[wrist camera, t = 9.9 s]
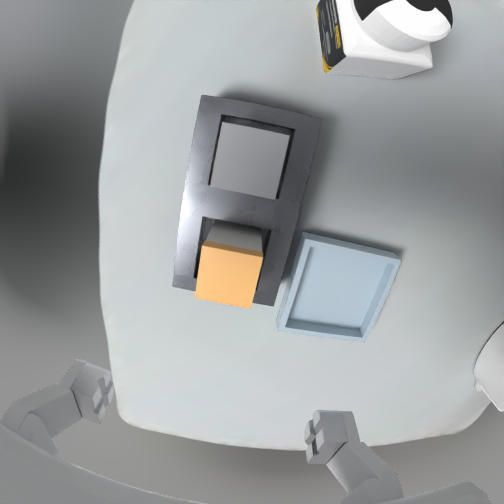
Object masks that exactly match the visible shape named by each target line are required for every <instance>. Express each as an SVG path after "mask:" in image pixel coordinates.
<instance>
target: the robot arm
mask: <svg viewBox="0 0 504 504" xmlns="http://www.w3.org/2000/svg"><path fill="white" fill-rule="evenodd" d="M474 375H475V377H476V384H475V389H476V390H477V391H478V392H480V391H484V392H485V393H486V394H487V396H488V397H489V398H490V399H491V401H492V402H493V403H494V404H495V406H496V407H497V408H498V410H500V411H504V323H503V324H502V325H501V326H500V327H499V328H498V329H497V331H496V332H495V333H494V334H493V335H492V336H491V338H490V339H489V340H488V342H487V343H486V345H485V346H484V348H483V349H482V351H481V353H480V355H479V357H478V359H477V361H476V364H475V368H474ZM111 377H112V375H111V371H109V370H106V369H104V368H101V367H98V366H96V365H93V364H91V363H88V362H85V361H83V360H80V359H76V360H75V361H74V362H73V363H72V365H71V366H70V368H69V369H68V371H67V372H66V374H65V375H64V377H63V378H62V380H61V381H60V383H59V384H53V385H51V386H49V387H46V388H44V389H42V390H39V391H37V392H35V393H32V394H30V395H27V396H25V397H23V398H20V399H18V400H16V401H13V403H12V404H11V405H10V407H9V408H8V410H7V411H6V413H5V414H4V416H3V417H2V419H1V420H0V504H206V503H200V502H194V501H189V500H184V499H179V498H175V497H170V496H165V495H162V494H158V493H154V492H150V491H147V490H143V489H140V488H137V487H133V486H130V485H127V484H124V483H121V482H118V481H115V480H112V479H109V478H106V477H104V476H101V475H99V474H96V473H93V472H91V471H89V470H86V469H84V468H82V467H79V466H77V465H75V464H73V463H70V462H68V461H66V460H64V459H62V458H60V457H58V456H56V454H57V452H58V448H57V446H56V445H55V443H54V441H53V440H52V438H53V437H54V436H56V435H58V434H59V433H61V432H62V431H64V430H65V429H67V428H68V427H70V426H71V425H73V424H75V423H76V422H78V421H79V420H81V419H82V418H85V419H88V420H90V421H93V422H95V423H98V424H101V421H102V419H103V417H104V415H105V413H106V411H105V406H107V405H109V404H110V402H111V400H112V397H113V391H114V386H113V383H112V382H111V381H110V379H111ZM305 442H306V443H307V444H308V445H309V447H308V448H307V449H306V455H307V463H315V464H327V466H328V468H329V469H330V470H331V472H332V473H333V474H334V475H335V477H336V478H337V479H338V481H339V482H340V483H341V485H342V486H343V487H344V489H345V490H346V491H347V492H348V495H347V496H345V497H344V498H343V499H342V500H340V501H339V502H338V504H491V501H490V499H489V497H488V495H487V494H486V493H485V492H484V491H483V490H481V489H480V488H479V487H477V486H476V485H475V484H473V483H472V482H470V481H467V480H465V481H460V482H458V483H455V484H452V485H449V486H446V487H443V488H439V489H436V490H433V491H429V492H426V493H422V494H418V495H415V496H410V497H406V498H404V496H403V492H402V488H401V485H400V481H399V477H398V474H397V473H396V472H395V471H393V469H391V468H390V467H389V466H388V465H387V464H386V463H385V462H384V461H383V460H381V458H380V457H379V456H377V455H376V454H375V453H374V452H373V451H372V450H371V449H370V448H369V447H368V446H367V445H366V444H365V443H364V442H360V438H359V434H358V431H357V427H356V423H355V419H354V416H353V413H352V412H351V411H326V410H316V411H315V412H314V414H313V419H312V420H310V421H309V422H308V424H307V426H306V429H305Z"/></svg>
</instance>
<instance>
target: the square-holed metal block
mask: <svg viewBox="0 0 504 504" xmlns="http://www.w3.org/2000/svg"><path fill="white" fill-rule="evenodd" d="M321 121H322V119H319V118H316V117H312V116H308V115H304V114H300V113H296V112H292V111H288V110H284V109H279V108H275V107H270V106H265V105H261V104H256V103H250V102H245V101H239V100H234V99H228V98H221V97H215V96H207V95H201V100H200V105H199V109H198V114H197V119H196V124H195V129H194V135H193V140H192V145H191V151H190V157H189V162H188V168H187V174H186V181H185V187H184V194H183V201H182V208H181V215H180V222H179V230H178V238H177V247H176V255H175V265H174V275H173V285H172V286H173V287H177V288H182V289H187V290H191V291H196V285H197V278H198V270H199V263H200V256H201V249H202V245H203V243H204V241H206V238H207V236H208V234H209V232H210V230H211V228H212V226H213V224H214V222H215V220H216V219H219V220H224V221H229V222H234V223H239V224H244V225H249V226H254V227H259V228H261V234H262V252H263V260H262V264H261V268H260V273H259V277H258V281H257V285H256V289H255V293H254V297H253V302H252V303H257V304H262V305H268V306H274V303H275V300H276V296H277V293H278V289H279V286H280V282H281V278H282V275H283V271H284V268H285V264H286V260H287V257H288V253H289V249H290V246H291V242H292V238H293V235H294V231H295V227H296V223H297V219H298V216H299V212H300V208H301V204H302V200H303V196H304V192H305V188H306V184H307V180H308V176H309V172H310V168H311V164H312V160H313V156H314V151H315V147H316V143H317V139H318V134H319V130H320V126H321ZM222 122H225V123H231V124H236V125H242V126H247V127H252V128H257V129H262V130H267V131H271V132H276V133H280V134H285V135H289V136H290V137H289V141H288V146H287V150H286V155H285V159H284V163H283V168H282V172H281V176H280V181H279V185H278V189H277V193H276V198H275V200H273V199H269V198H264V197H259V196H255V195H250V194H245V193H240V192H235V191H230V190H225V189H219V188H214V187H210V184H211V178H212V173H213V168H214V162H215V157H216V152H217V147H218V142H219V137H220V132H221V127H222Z"/></svg>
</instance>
